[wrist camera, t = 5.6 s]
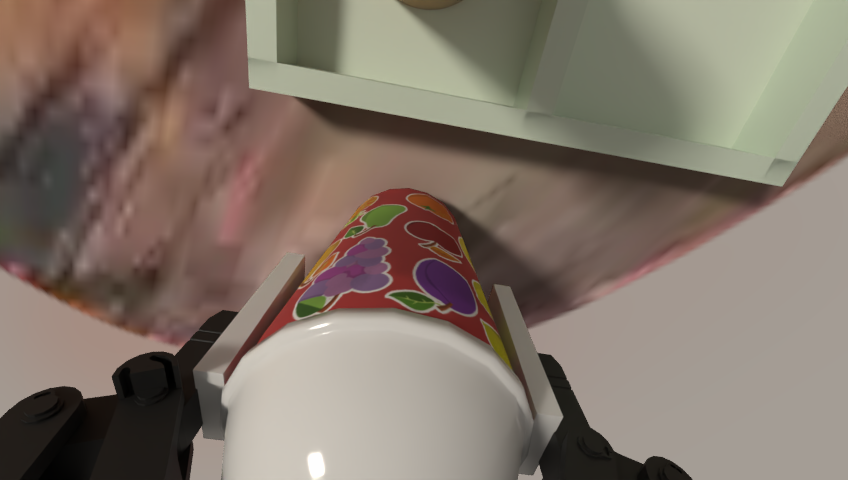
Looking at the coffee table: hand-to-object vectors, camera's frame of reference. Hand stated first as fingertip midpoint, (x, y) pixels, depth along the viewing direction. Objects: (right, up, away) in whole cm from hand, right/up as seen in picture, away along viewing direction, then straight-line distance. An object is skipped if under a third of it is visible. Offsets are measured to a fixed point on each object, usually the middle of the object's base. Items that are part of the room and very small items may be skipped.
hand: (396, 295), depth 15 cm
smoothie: (0, +3, +6) cm, 7 cm away
